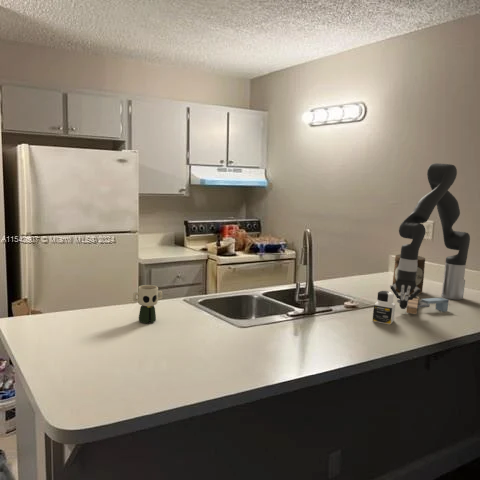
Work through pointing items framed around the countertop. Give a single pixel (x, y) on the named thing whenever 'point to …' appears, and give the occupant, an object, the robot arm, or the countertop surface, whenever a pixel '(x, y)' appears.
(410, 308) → the link
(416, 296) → the pivot base
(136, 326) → the countertop surface
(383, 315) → the medicine bottle
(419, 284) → the wooden container
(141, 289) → the character mug
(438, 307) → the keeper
